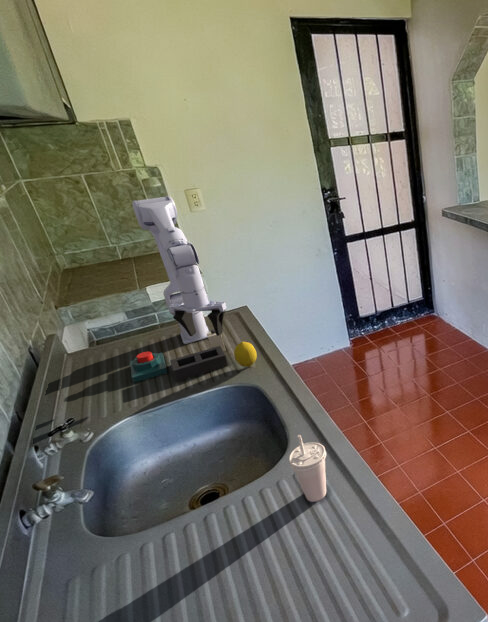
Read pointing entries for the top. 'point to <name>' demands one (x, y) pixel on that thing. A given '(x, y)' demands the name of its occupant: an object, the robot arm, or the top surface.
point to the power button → (144, 357)
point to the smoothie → (310, 469)
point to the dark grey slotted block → (198, 363)
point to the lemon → (245, 354)
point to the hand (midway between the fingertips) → (206, 334)
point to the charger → (215, 340)
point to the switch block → (148, 368)
